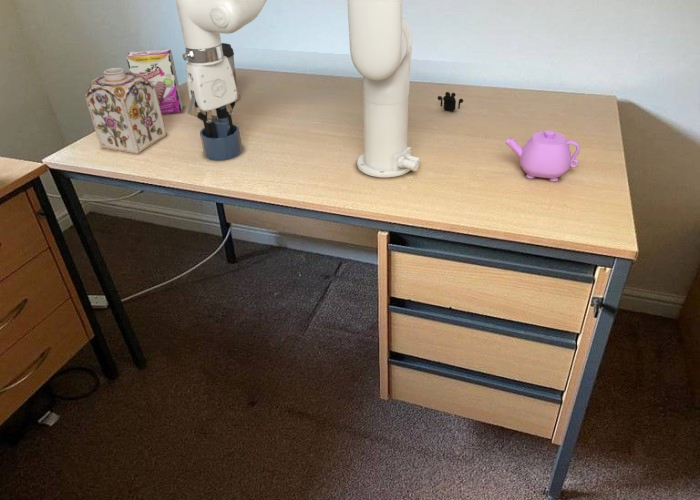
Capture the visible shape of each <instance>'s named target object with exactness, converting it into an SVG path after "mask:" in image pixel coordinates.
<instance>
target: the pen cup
mask: <svg viewBox="0 0 700 500" xmlns="http://www.w3.org/2000/svg"><path fill="white" fill-rule="evenodd" d="M232 124H233V126H232V127H233V132H230V133H231V135H229V136H225V137H220V138H210V137H208V136H207V134H206V132H205V128H204V127H202V128H201V130H200V131H199V137H200V141H201V146H202V150H203V155H204V157H205V158H206V159H208V160H211V161H220V162H221V161H227V160H228V161H229V160H232V159H235V158H237V157H238V156H240V155H241V154H242V152H243V145H242V138H241V132H240V127H239V126H238V125H237V124H234V123H232Z"/></svg>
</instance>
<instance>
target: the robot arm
mask: <svg viewBox="0 0 700 500" xmlns="http://www.w3.org/2000/svg"><path fill="white" fill-rule="evenodd" d="M266 2H267V0H175V3H176V8H177V13H178V14H177V15H178V18H179V22H180V28H181V32H182V38H183V42H184V46H185V47H184V49H185V53H183V54H182V55H181V57H182V59H183V61H188V62H186V84H187V91H188V96H189V101H190V102H189V105H188V108H187V112H186V113H187V114H188V115H189V116H192V117H195V118H197V119H199V120H200V121H202V122H203V128H205V132H206V134H207V136H208V137H211V138H217V133H216V128H215V123H214V122H212V115H213V114H212V111H214V110H216V109H217V108H220V107H222V106H225V105H226V109H227V114H226V115H228V120H229V125H230V132H233V127H232V126H233V124H234V123H233V118H232V115H233V114H234V108H235V106H236V103H237V102H238V101H239V99H240V98H241V94H240V93H239V92H238V88H237V89H236V84H237V83H236V84H235V80H234V76H233V72H232V69H231V66H230V63H229V61H228V59H227V57H226V56H223V50H222V44H221V43H222V39H221V34H224V35H228V34H229V35H230V34H234V33H236V32H238V31H240V30H241V29H242V28H244V27H245V26H247V25H248V24H250V23H252V22H253V21H255V19H257V17H259V15H260V13H261V11H262V10H263V8H264V6H265V4H266ZM347 16H348V17H347V18H348V35H349V36H348V37H349V38H348V39H349V53H350V58H351V61H352V64H353V66H354V68H355V70H356V71H357V72H358V73H359V74H360V75H361V76H362V126H363V128H362V129H363V153H362V154H361V155H359V156H358V158H357V160H356V165H357V166H356V167H357V169H358V170H359V171H360V172H361V173H363V174H365V175H367V176H370V177H375V178H396V177H401V176H403V175H405V174H407V173H409V172H410V171H413V172H417V171H418V170H419V169H420V164H421V160H422V159H421V157H418V156H414V155H413V154H412V147H411V146H408V143H409V142H408V138H409V101H410V100H409V99H410V80H411V79H410V77H411V63H412V53H413V35H412V30H411V27H410V24H409V23H408V22H407V20H406V19H405V18H404V17H403V0H347ZM197 109H199V111H198V110H197Z"/></svg>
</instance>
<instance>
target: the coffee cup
mask: <svg viewBox="0 0 700 500" xmlns="http://www.w3.org/2000/svg"><path fill="white" fill-rule="evenodd" d="M221 44H222V50H223V56H226V57H227V59H228V61H229V63H230V66H231V69H232V72H233V76H234V80H235V84H236V89H237V90H238V85H237V74H236V65H235V58H234V57H235V52H234V48H232V45H231V44H230V43H227V42H221Z"/></svg>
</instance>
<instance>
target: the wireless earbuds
mask: <svg viewBox="0 0 700 500" xmlns="http://www.w3.org/2000/svg"><path fill="white" fill-rule="evenodd" d="M444 94H445V95H444V96H443V97H442V96H441V95H438V96H437V100H438V101H440V107H443V110H444V111H448V112H455V110H456V105H457V104H458V106H457V110H460V108H461V104H463V103H464V99H463V98H459V99H458V103H457V99H456V98H455V97H456V95H457V94H456V93H455V92H451V93H450V92H449V91H446V92H445V93H444Z"/></svg>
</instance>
